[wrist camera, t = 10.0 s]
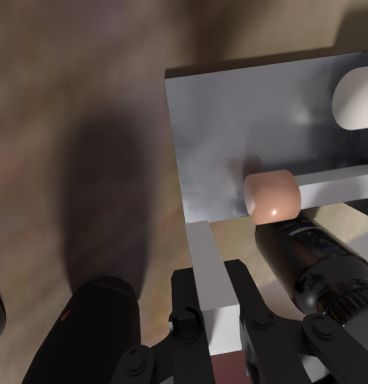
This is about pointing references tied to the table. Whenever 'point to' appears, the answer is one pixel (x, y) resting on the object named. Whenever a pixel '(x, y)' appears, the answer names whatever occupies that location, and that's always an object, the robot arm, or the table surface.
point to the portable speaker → (89, 336)
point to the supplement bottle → (318, 271)
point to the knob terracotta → (301, 191)
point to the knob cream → (352, 100)
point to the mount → (258, 130)
